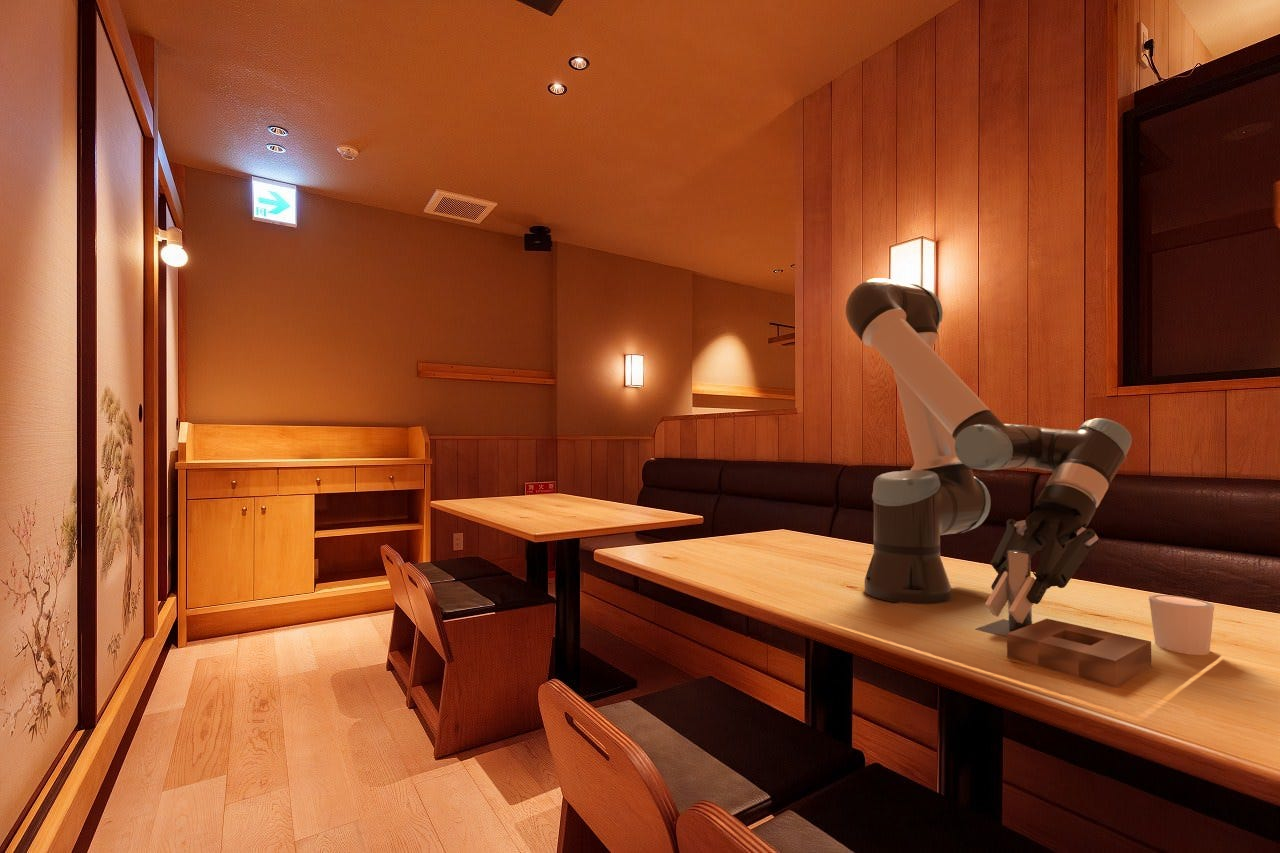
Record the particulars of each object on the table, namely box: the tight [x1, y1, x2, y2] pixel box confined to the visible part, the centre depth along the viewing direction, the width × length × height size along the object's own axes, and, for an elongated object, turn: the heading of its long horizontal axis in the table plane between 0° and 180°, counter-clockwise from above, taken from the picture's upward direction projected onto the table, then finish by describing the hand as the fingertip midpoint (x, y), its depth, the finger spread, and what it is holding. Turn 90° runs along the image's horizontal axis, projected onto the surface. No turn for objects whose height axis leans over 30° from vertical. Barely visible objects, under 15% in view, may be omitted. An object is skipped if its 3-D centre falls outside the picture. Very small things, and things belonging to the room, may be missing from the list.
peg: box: [1007, 550, 1033, 632], centre depth 91 cm, size 3×3×12 cm
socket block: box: [1006, 618, 1153, 688], centre depth 79 cm, size 12×12×4 cm
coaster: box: [975, 618, 1011, 638], centre depth 91 cm, size 9×9×1 cm
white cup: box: [1148, 594, 1215, 656], centre depth 84 cm, size 7×7×7 cm
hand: (1003, 613), depth 89 cm, fingers closed on peg, 3 cm apart
